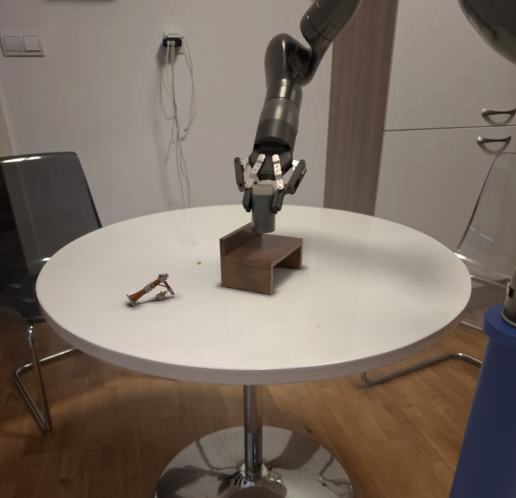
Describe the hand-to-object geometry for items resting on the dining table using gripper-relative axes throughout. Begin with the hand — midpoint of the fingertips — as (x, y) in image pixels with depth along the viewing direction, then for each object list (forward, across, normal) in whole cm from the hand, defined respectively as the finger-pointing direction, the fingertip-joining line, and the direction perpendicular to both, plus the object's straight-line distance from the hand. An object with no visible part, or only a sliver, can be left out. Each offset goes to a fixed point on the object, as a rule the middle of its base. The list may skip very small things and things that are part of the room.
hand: (260, 210), depth 88 cm
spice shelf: (+8, 0, +10) cm, 13 cm away
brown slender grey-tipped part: (+20, -16, -1) cm, 26 cm away
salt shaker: (+1, 0, +4) cm, 4 cm away
